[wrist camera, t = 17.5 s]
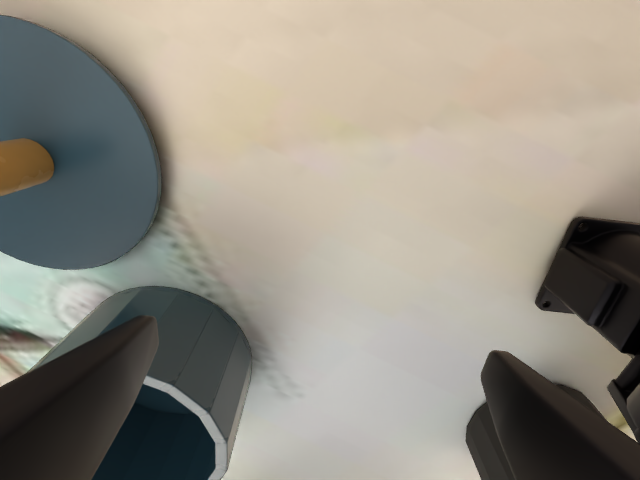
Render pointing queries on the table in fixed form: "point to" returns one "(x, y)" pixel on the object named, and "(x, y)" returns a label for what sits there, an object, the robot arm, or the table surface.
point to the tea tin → (174, 386)
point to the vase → (488, 446)
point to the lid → (69, 154)
